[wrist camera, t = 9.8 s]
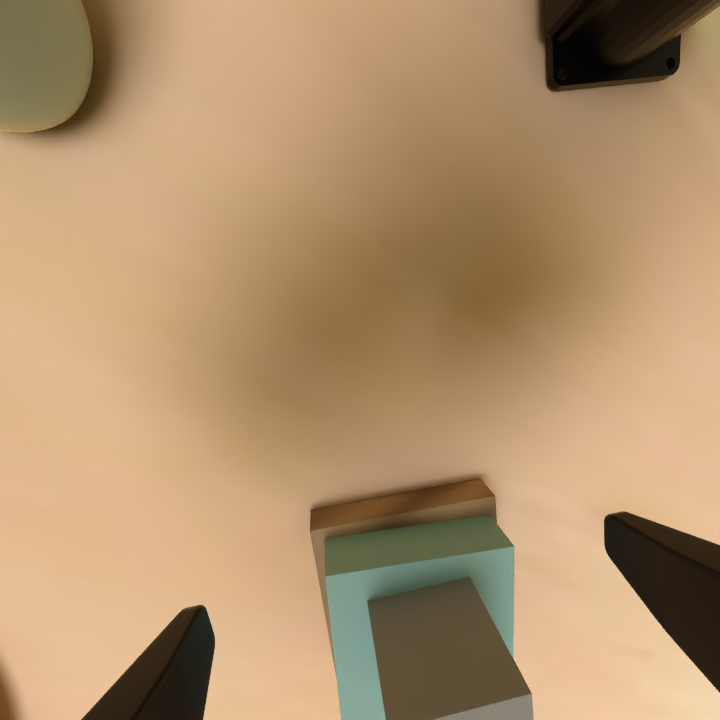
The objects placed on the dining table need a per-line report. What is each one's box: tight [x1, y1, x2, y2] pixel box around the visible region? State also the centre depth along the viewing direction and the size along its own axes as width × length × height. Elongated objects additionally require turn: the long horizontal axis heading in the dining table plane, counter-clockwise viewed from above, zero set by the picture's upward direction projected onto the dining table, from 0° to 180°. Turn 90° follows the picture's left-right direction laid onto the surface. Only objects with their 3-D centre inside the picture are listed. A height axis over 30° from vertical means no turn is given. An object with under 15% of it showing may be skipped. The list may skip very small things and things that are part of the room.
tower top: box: [324, 515, 514, 720], centre depth 18 cm, size 9×9×2 cm
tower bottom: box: [310, 479, 497, 678], centre depth 21 cm, size 10×10×2 cm
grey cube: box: [367, 577, 533, 720], centre depth 15 cm, size 5×5×5 cm
